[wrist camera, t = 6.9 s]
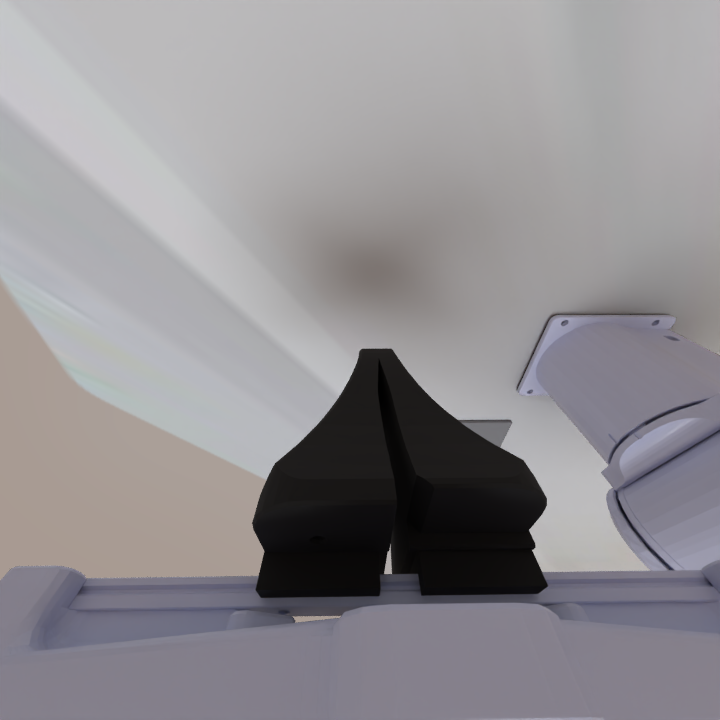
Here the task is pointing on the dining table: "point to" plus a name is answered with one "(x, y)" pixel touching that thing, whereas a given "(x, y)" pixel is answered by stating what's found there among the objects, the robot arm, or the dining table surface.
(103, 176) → the dining table surface
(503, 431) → the mat
